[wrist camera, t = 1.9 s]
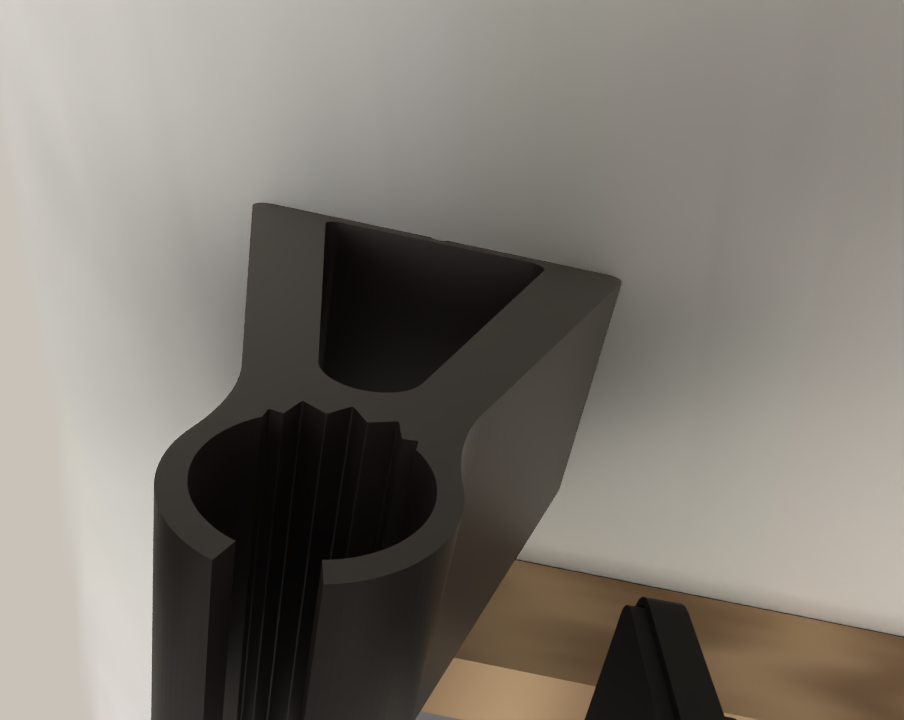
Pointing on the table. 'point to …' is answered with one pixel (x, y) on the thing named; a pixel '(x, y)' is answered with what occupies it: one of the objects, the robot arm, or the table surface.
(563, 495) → the table surface
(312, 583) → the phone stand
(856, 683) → the door edge rail
